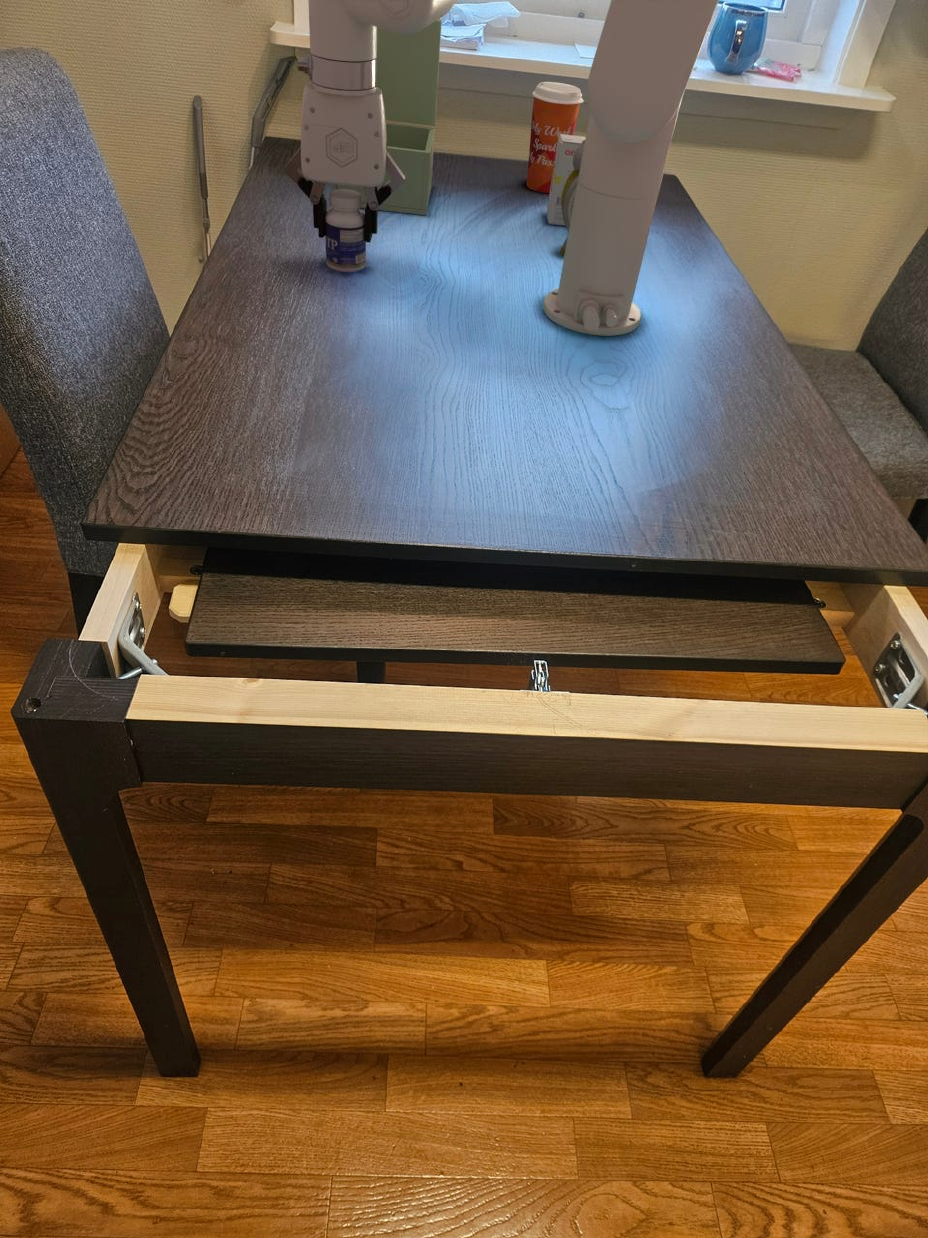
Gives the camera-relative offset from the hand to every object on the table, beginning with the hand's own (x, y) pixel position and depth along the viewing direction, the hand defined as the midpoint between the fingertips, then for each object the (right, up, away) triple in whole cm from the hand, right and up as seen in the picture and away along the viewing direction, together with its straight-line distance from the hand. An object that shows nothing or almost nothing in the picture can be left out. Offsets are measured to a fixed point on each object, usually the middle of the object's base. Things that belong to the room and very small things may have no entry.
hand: (345, 234), depth 110 cm
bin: (+3, +17, +25) cm, 30 cm away
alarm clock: (+34, +4, +16) cm, 38 cm away
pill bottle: (0, -3, +3) cm, 4 cm away
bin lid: (+5, +33, +17) cm, 37 cm away
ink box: (+33, +13, +25) cm, 43 cm away
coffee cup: (+29, +25, +36) cm, 53 cm away
